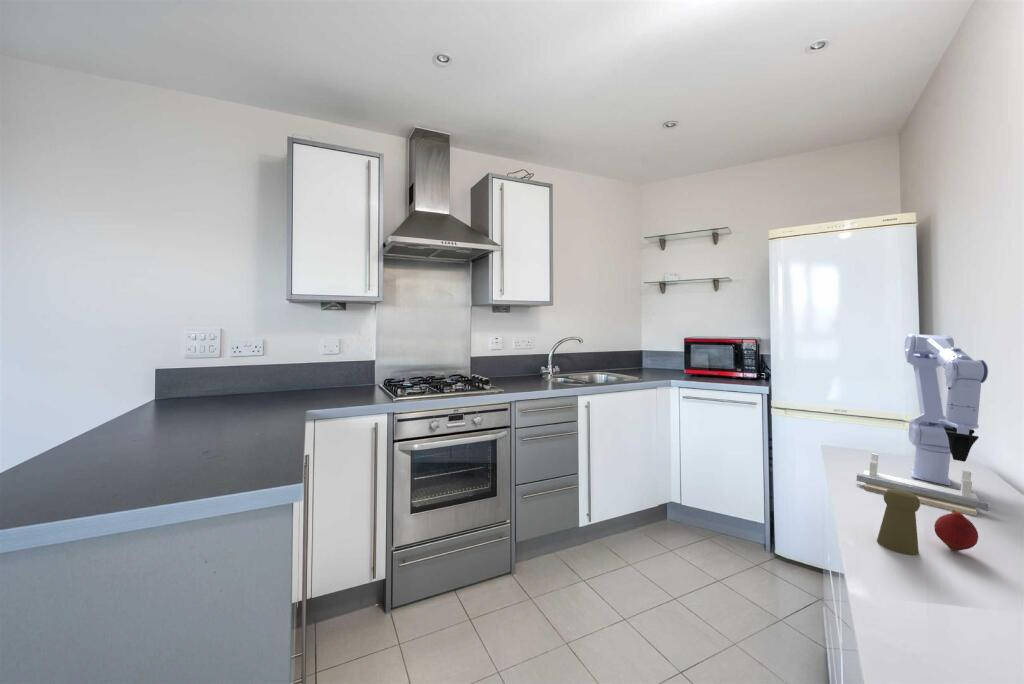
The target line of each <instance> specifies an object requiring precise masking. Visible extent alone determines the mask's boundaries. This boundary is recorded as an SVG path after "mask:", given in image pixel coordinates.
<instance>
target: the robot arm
mask: <svg viewBox="0 0 1024 684" xmlns="http://www.w3.org/2000/svg"><path fill="white" fill-rule="evenodd" d="M903 350H904V357H905V360H906V363H908V364H910V365H912V368H913V371H914V376H915V385H916V392H917V399H918V408H919V413H920V415H918V416H916V417H913V418H912V419H911V420H910V421H909V423H908V440H909V442H910V443H911V444H912V445H913V446H914V447H915V450H914V451H915V452H914V460H913V468H911V472H910V478H912V479H916V480H922V481H925V482H931V483H935V484H941V485H946V486H951V481H950V477H949V474H950V473H949V472H950V462H951V461H950V460H951V456H952V459H953V460H954V461H957V462H963V463H964V462H966V461H967V459H968V457H969V454H970V452H971V448H972V447H973V445H974V444H975V443H976V441H977V440H979V439H980V438H979V436H978V435H973V434H975V430H977V429H979V424H978V421H979V412H980V411H979V410H980V401H981V399H980V398H981V389H982V384H983V383H985V382H986V381H987V379H988V375H989V368H988V364H987V363H986V361H985V360H984V359H977V360H976V359H975V360H974V358H971V357H970V356H969V355H968V354H967V353H966V352H964V351H963V350H962V348H960V347H955V341H954V339H953V337H952V336H951V335H948V334H946V335H941V334H940V335H938V334H936V335H935V334H914V333H909V334H908V335H906V338H905V340H904V348H903ZM939 367H942V368H943V369H944V375H945V387H947V394H946V395H947V396H946V405H945V406H946V408H945V415H944V410H943V406H942V405H943V404H942V398H941V392H940V385H939V381H938V380H939V378H938V374H937V373H938V372H937V368H939Z"/></svg>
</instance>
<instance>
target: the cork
mask: <svg viewBox="0 0 1024 684" xmlns="http://www.w3.org/2000/svg"><path fill="white" fill-rule="evenodd" d="M883 501H884V503H885V504H886V507H885V510H884V514H883V517H882V520H881V525H880V528H879V532H878V535H877V539H876V542H877V543H878V545H880V546H882V547H883V548H885V549H887V550H889V551H892V552H895V553H898V554H902V555H907V556H917V555H919V553H920V551H919V541H918V540H919V539H918V528H917V516H916V512H918V510H919V509H920V507H921V503H920V500H919V499H918V497H917V496H916V495H914V494H912V493H910V492H907V491H903V490H898V489H889V490H887V491H886V492H885V493H884V494H883Z"/></svg>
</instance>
